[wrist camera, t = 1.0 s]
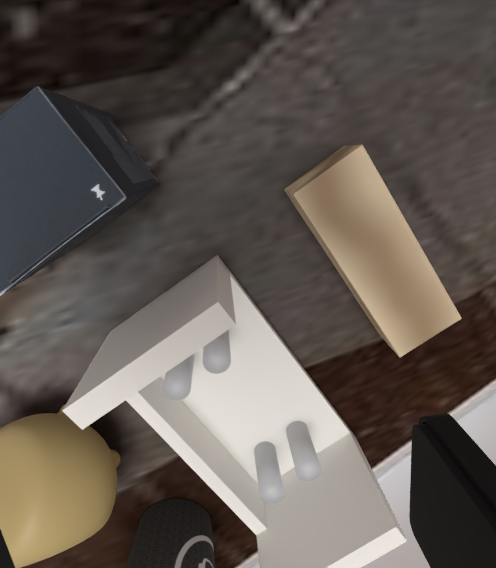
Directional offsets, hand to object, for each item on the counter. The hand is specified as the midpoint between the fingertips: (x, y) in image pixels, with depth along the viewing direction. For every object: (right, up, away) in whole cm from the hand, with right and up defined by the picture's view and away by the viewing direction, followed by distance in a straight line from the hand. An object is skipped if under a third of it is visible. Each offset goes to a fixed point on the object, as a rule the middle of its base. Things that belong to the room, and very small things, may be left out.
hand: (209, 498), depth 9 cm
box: (-10, +11, +19) cm, 24 cm away
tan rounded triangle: (-15, -8, +24) cm, 30 cm away
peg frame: (0, -4, +24) cm, 24 cm away
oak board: (+9, +7, +21) cm, 25 cm away
